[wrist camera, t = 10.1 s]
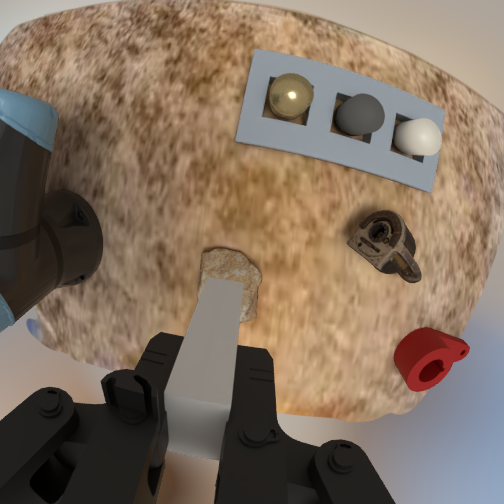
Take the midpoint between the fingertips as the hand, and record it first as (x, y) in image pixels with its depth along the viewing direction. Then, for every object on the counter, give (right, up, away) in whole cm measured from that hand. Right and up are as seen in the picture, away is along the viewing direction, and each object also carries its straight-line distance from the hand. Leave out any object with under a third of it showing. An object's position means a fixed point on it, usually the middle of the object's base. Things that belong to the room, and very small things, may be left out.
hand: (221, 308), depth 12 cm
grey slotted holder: (+13, +19, +20) cm, 31 cm away
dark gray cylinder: (+13, +18, +18) cm, 29 cm away
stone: (+2, -5, +29) cm, 29 cm away
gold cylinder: (+5, +20, +18) cm, 27 cm away
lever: (+35, -16, +31) cm, 50 cm away
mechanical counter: (+20, +4, +25) cm, 32 cm away
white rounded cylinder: (+21, +17, +18) cm, 33 cm away
